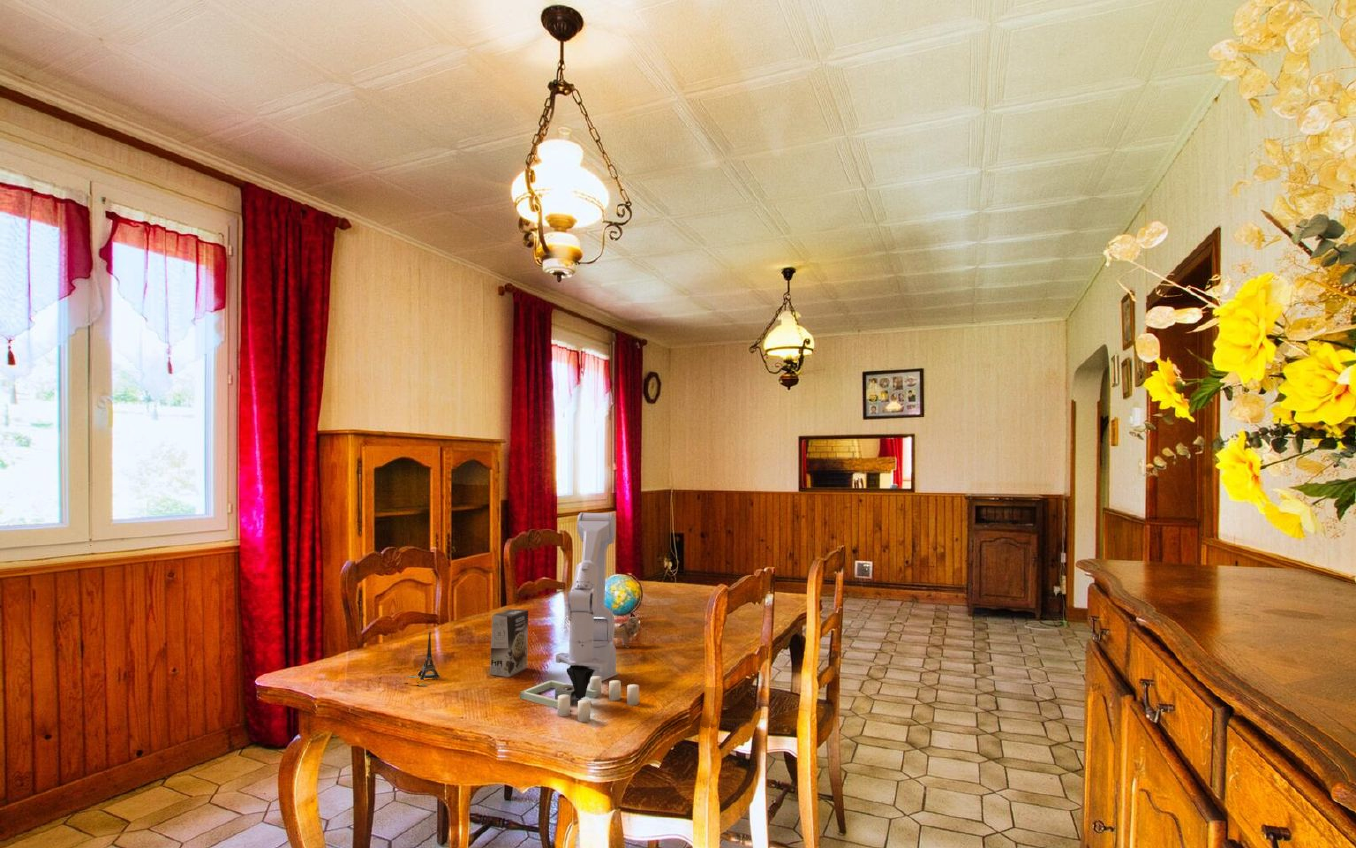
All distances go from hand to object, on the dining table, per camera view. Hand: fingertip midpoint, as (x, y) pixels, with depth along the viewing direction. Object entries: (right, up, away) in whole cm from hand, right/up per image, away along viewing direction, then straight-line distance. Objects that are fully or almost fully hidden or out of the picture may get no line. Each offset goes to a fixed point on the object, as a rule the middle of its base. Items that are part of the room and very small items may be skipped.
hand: (580, 697), depth 157 cm
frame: (-6, -2, +4) cm, 7 cm away
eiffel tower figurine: (-44, -3, +19) cm, 48 cm away
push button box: (-3, -2, +1) cm, 4 cm away
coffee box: (-23, -3, +24) cm, 34 cm away
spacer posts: (+4, -1, -2) cm, 5 cm away
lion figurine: (+4, -5, +50) cm, 50 cm away
